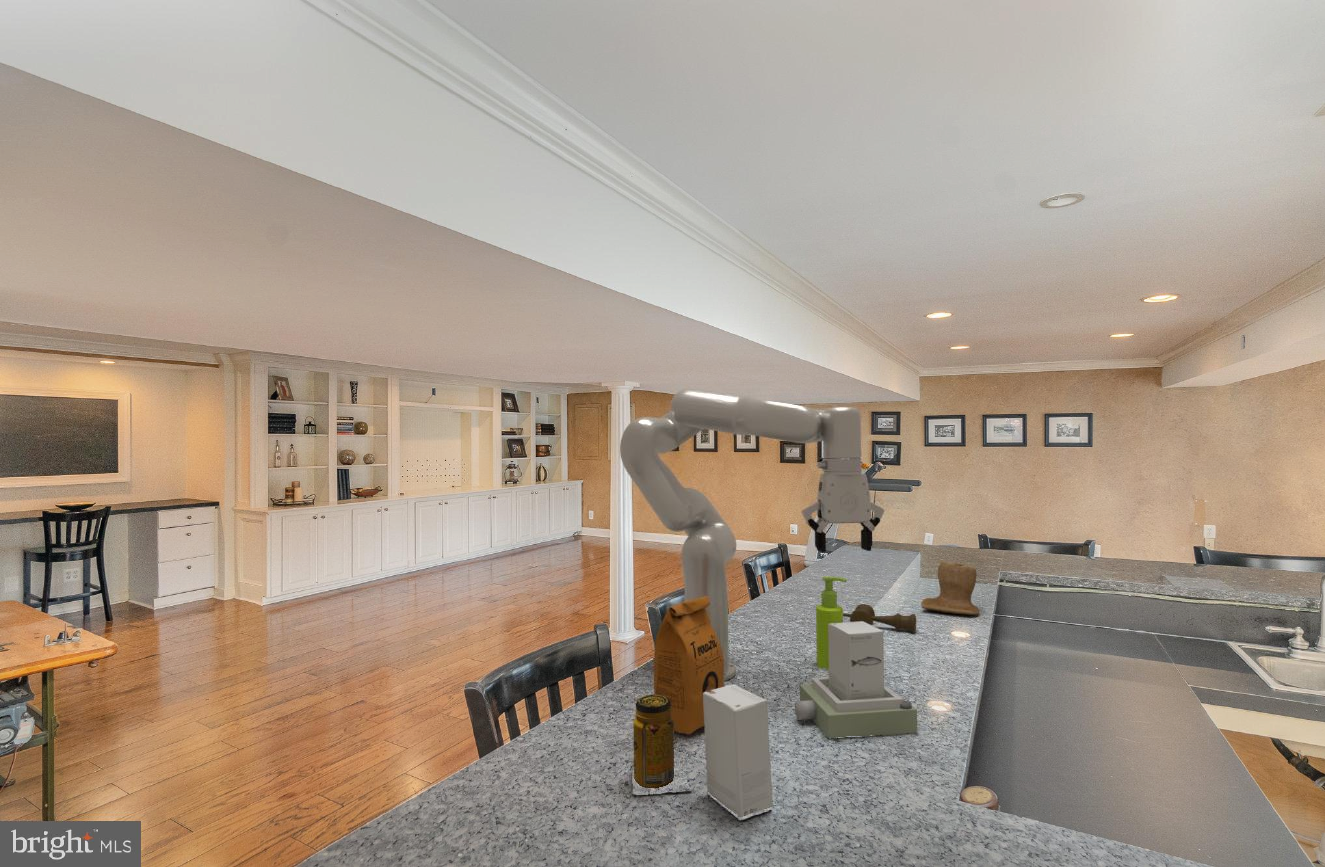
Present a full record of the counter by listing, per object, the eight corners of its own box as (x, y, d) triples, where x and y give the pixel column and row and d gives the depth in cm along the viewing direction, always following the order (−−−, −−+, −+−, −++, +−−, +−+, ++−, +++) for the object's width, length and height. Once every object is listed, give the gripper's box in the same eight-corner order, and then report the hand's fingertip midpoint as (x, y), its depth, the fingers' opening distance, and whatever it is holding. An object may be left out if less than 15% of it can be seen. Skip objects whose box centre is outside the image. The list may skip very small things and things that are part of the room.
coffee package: (733, 720, 113) (732, 598, 113) (687, 743, 104) (686, 611, 105) (693, 704, 120) (691, 590, 120) (646, 725, 111) (645, 601, 112)
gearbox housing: (811, 740, 104) (811, 707, 105) (784, 706, 118) (784, 677, 119) (917, 732, 107) (916, 700, 107) (878, 700, 121) (878, 672, 121)
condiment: (630, 771, 95) (629, 692, 96) (685, 768, 96) (684, 689, 96) (632, 797, 88) (632, 712, 88) (691, 794, 89) (690, 709, 89)
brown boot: (981, 610, 187) (980, 560, 187) (976, 620, 177) (975, 567, 177) (928, 604, 195) (927, 556, 196) (920, 612, 185) (919, 562, 186)
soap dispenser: (849, 671, 137) (848, 580, 138) (817, 669, 138) (816, 579, 139) (847, 662, 143) (845, 575, 143) (816, 660, 144) (815, 574, 145)
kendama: (915, 639, 161) (836, 629, 169) (916, 630, 170) (841, 621, 178) (915, 616, 161) (836, 606, 169) (917, 608, 170) (842, 600, 178)
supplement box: (848, 706, 109) (847, 633, 109) (828, 690, 116) (826, 622, 116) (886, 702, 110) (884, 630, 111) (863, 686, 118) (862, 619, 118)
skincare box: (773, 811, 84) (772, 700, 85) (737, 825, 81) (736, 710, 82) (737, 782, 92) (735, 681, 92) (702, 794, 89) (701, 689, 89)
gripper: (808, 468, 123) (810, 555, 122) (891, 467, 125) (892, 552, 124) (795, 467, 130) (796, 549, 130) (873, 466, 132) (875, 546, 132)
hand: (843, 550), depth 127 cm, fingers open, 9 cm apart
